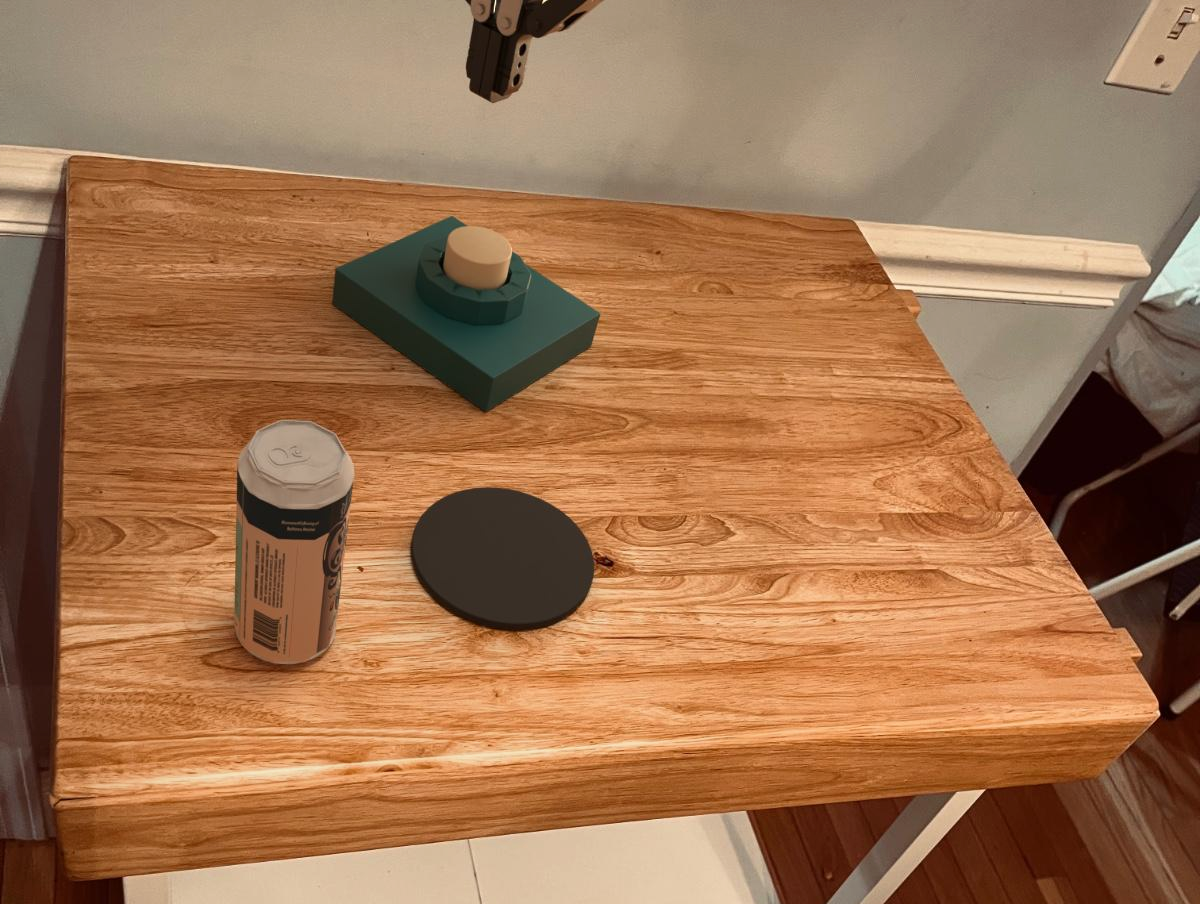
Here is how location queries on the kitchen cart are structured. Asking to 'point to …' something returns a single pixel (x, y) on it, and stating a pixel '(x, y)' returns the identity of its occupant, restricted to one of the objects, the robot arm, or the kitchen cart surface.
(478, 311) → the push button base
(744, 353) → the kitchen cart surface
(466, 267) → the button
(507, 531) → the coaster
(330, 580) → the beer can
